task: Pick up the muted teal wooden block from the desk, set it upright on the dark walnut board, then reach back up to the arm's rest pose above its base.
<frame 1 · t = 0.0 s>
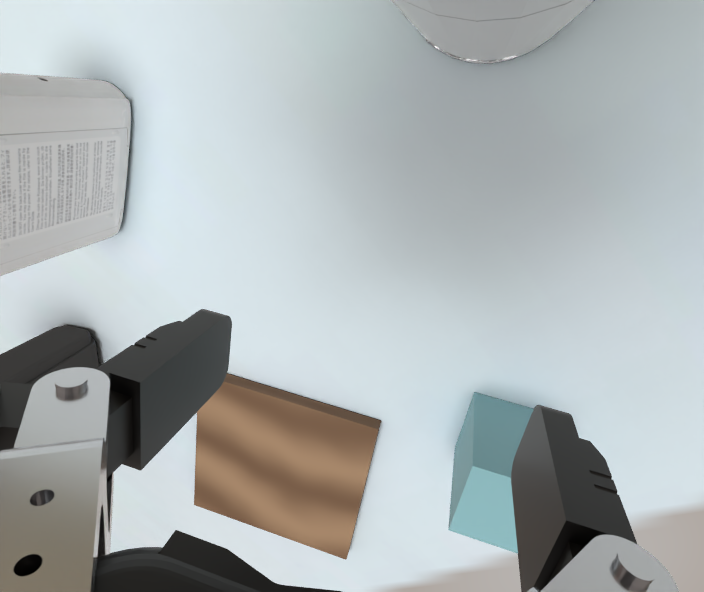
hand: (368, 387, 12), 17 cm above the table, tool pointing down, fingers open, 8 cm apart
card reader: (88, 368, 39), on the table
photo printer: (107, 160, 31), on the table
teal block: (500, 432, 31), on the table
walnut board: (280, 462, 38), on the table
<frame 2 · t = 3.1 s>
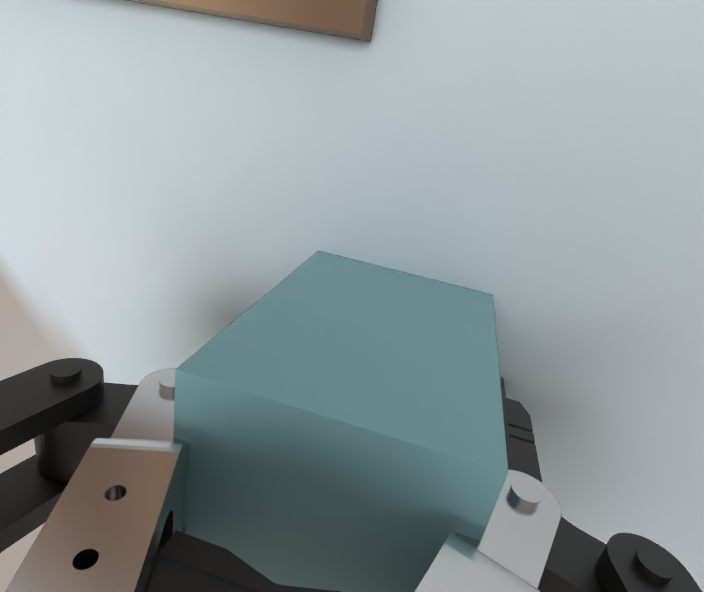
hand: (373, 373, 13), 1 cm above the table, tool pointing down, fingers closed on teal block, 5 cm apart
teal block: (384, 349, 14), on the table, touching gripper
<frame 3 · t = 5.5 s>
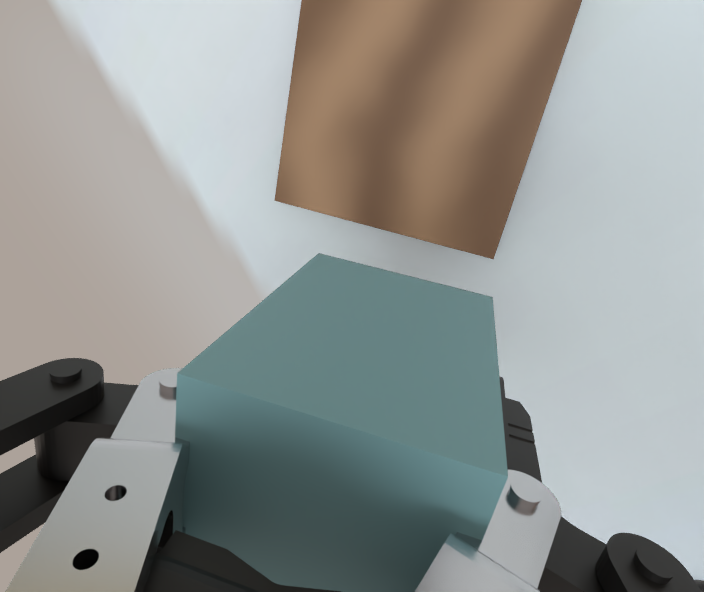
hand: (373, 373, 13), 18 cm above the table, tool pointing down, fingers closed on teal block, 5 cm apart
teal block: (384, 351, 14), point 16 cm above the table, touching gripper
walnut board: (410, 108, 27), on the table
when the fingers open (4 cm above the table, at t = 8.2 s): teal block drops 1 cm, resting on walnut board.
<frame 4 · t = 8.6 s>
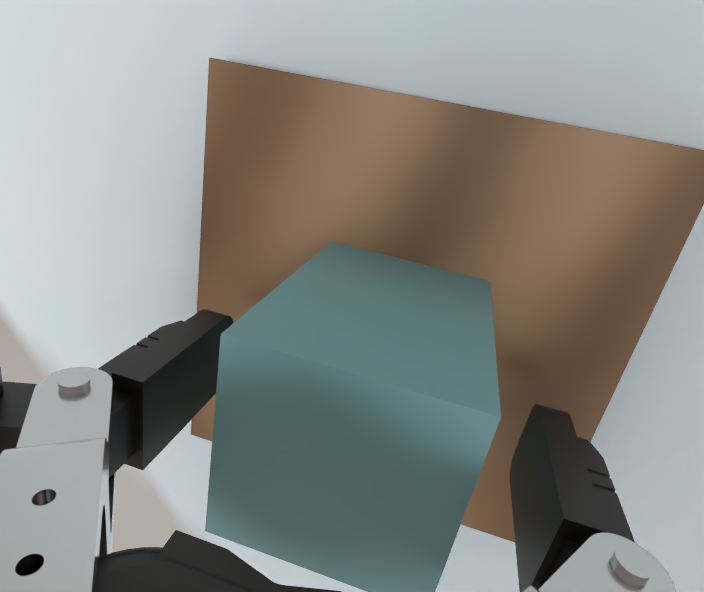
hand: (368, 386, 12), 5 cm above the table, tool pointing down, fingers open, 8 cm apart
teal block: (391, 331, 15), point 1 cm above the table, touching walnut board
walnut board: (396, 318, 16), on the table
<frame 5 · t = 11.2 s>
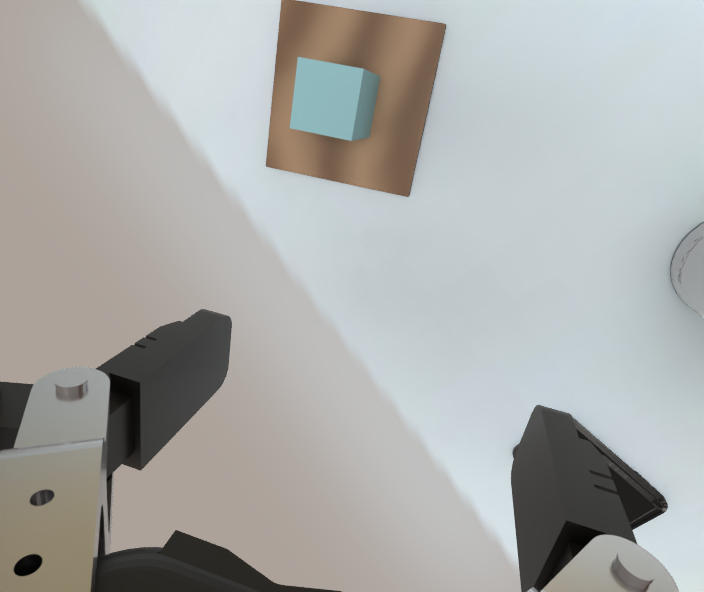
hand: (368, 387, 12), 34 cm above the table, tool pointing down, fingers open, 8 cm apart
teal block: (347, 102, 41), point 1 cm above the table, touching walnut board
walnut board: (350, 102, 42), on the table
phone: (586, 472, 50), on the table
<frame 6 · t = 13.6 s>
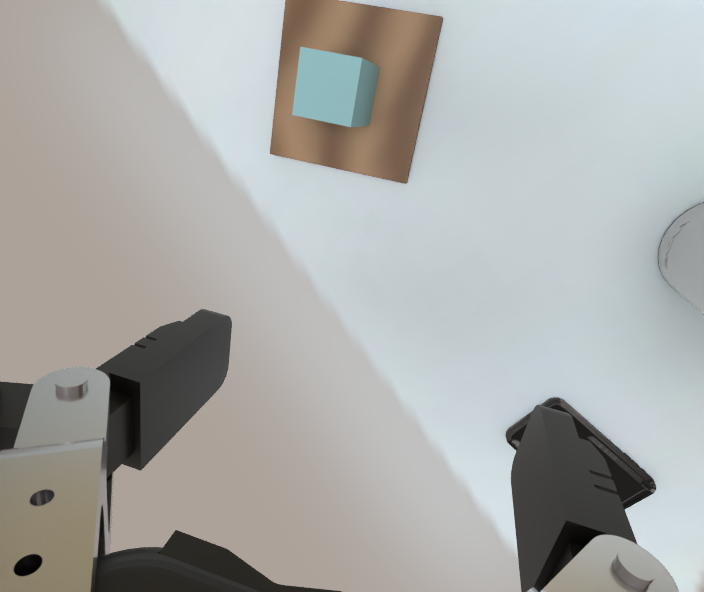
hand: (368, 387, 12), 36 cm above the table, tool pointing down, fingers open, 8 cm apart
teal block: (348, 92, 43), point 1 cm above the table, touching walnut board
walnut board: (350, 92, 44), on the table
phone: (577, 454, 52), on the table
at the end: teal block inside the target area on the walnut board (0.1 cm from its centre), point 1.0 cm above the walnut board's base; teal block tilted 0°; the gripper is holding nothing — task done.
